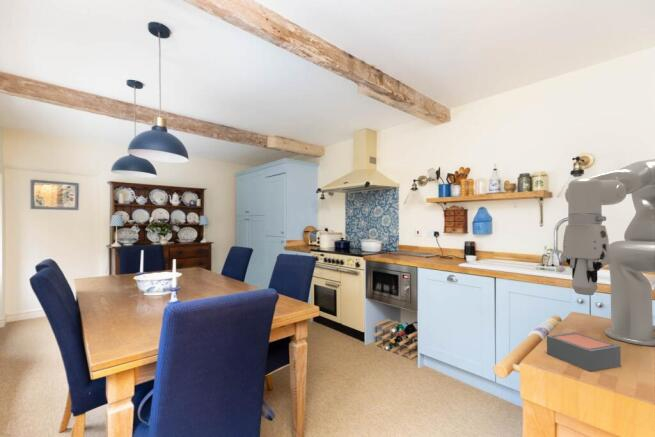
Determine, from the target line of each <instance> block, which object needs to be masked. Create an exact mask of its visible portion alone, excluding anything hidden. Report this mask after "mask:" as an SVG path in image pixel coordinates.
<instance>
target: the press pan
mask: <svg viewBox="0 0 655 437" xmlns="http://www.w3.org/2000/svg"><path fill="white" fill-rule="evenodd" d="M554 338H557V339H560V340H563V341H566V342H569V343H572V344H575V345H578V346H580V347H583V348H586V349H589V350H590V349H596V348H602V347H609V346H612V345H610V344H607V343H603V342H600V341H597V340H594V339H591V338H592V337H591V338H587V337H584V336H581V335H578V334H571V335H564V336H556V337H554Z"/></svg>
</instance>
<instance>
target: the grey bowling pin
mask: <svg viewBox="0 0 655 437" xmlns="http://www.w3.org/2000/svg"><path fill="white" fill-rule="evenodd" d="M587 270H588V271H589V268H588V259H577V262H576V267H575V273H574V277H573V278H572V282H571V287H572V289H573V291H574V293H576V294H577V295H583V296H593V295H594V294H595V293H596V291H597V290H598V284H597V283H598V282H597V283H596V282H592V280H591V277H590V280H589V283H588V279H587V273H586V271H587Z"/></svg>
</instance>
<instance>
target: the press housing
mask: <svg viewBox="0 0 655 437" xmlns="http://www.w3.org/2000/svg"><path fill="white" fill-rule="evenodd" d="M571 334H578V335H581V336H584V337H587V338H591V339H594V340H597V341H600V342H603V343H607V344H610V345H612V346H609V347H602V348H596V349H590V350H589V349H586V348H583V347H580V346H578V345H575V344H572V343H569V342H566V341H563V340H560V339H557V338H554V337H556V336H564V335H571ZM546 354H547V355H549V356H552V357H555V358H557V359H559V360H561V361H564V362H566V363H568V364H571V365H574V366H576V367H579V368H581V369H583V370H586V371H588V372H595V371H601V370H608V369H610V368H611V369H613V368H617V367H621V346H620V345H617V344H613V343H610V342H608V341H604V340H601V339H598V338H595V337H591V336H588V335H585V334H581V333H578V332H574V331H573V332H566V333H560V334H559V333H557V334H551V335H546Z"/></svg>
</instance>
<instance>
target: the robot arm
mask: <svg viewBox="0 0 655 437" xmlns="http://www.w3.org/2000/svg"><path fill="white" fill-rule="evenodd" d="M627 195H631V198H632V202H633V207H634V209H635V214H634V216H633V218H632V219H631V221H630V222H629V224H628V225H627V228H625V231H624V235H623V238H624V240H617V241H613V242H611V243H610V241H609V240H610V239H609V234H608V232H607V231H608V230H607V226H606V225H603V222H606V221H607V216H605V215H603V214H602V213H603V212H602V206H611V205H616V204H619V203H621V202H623V201H624V200H625V199H626V197H627ZM564 197H565V200H566V203H568V206H567V207H568V209H567V212H568V215H567V216H568V217H567V219H568V222H567V223H568V224H567V225H566V226H565V230H564V232H563V242H562V253H561V255H560V259H561V260H562V261H564V262H565V263H567V265H568V266H569V268H570V269H571V276H572V277H571V278H572V279H573V277H574V273H575V267H576V262H577V259H588V268H589V271H588V270H587V271H586V273H587V279H588V283H589V280H590V277H591V280H592V282H596V283H598V271H600V270H601V269H602V268H603V267H604V266H607V265H608V270H609V277H610V278H609V279H610V323H611V324H610V325H611V326H610V328H607V329H605V330H604V334H605V335H606V336H607V337H609V338H612V339H614V340H617V341H619V342H620V341H621V342H624V343H628V344H634V345H641V346H647V347H649V346H651V347H653V346H654V347H655V336H654V333H655V325H653V323H654V322H653V315H654V314H653V287H652V284H651V282H650V280H649V279H648V277H647V276H645V274H644V273H643V272H645V273H646V272H647V273H655V158H653V159H646V160H641V161H636V162H633V163H630V164H628V165H626V166H623V167H621V168H619V169H616V170H612V171H608V172H605V173H601V174H598V175H595V176H590V177H587V178H584V177H583V178H575V179H573V180H571V181H570V182H569V183H568V186H567V188H566V189H565V192H564Z"/></svg>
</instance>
